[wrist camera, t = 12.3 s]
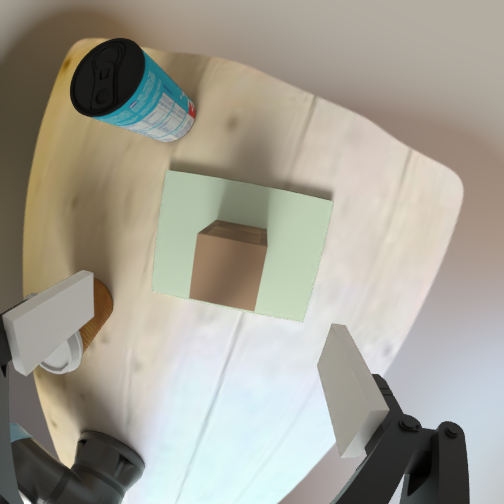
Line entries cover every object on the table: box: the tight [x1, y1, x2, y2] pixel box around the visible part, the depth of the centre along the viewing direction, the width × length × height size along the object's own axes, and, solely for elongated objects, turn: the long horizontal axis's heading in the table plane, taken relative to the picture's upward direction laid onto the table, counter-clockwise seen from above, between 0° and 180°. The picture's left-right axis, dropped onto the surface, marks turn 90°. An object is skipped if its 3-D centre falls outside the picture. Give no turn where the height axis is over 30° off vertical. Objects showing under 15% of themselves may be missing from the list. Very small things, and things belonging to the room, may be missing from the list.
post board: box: [152, 170, 334, 322], centre depth 28 cm, size 18×14×7 cm
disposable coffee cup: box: [23, 278, 113, 374], centre depth 28 cm, size 10×10×12 cm
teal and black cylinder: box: [70, 38, 195, 142], centre depth 21 cm, size 6×6×15 cm
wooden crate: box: [189, 220, 268, 311], centre depth 26 cm, size 5×5×9 cm
